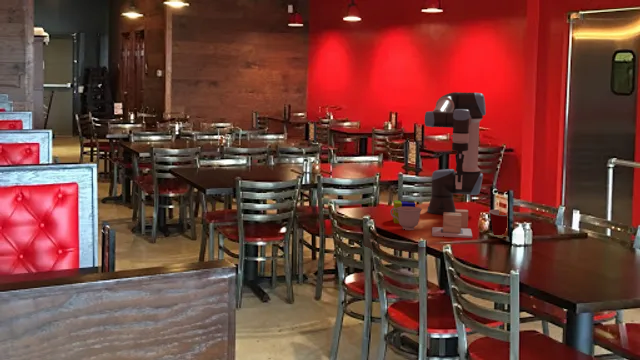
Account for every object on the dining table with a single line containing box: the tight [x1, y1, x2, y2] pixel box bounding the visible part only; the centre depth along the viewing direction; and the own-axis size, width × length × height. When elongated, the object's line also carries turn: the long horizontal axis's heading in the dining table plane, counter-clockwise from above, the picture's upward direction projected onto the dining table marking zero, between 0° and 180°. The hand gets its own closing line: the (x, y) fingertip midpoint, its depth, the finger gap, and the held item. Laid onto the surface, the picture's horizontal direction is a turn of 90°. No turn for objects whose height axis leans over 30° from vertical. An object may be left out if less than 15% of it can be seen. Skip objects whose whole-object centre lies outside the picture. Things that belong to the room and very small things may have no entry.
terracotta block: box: [455, 208, 469, 229], centre depth 395 cm, size 6×6×8 cm
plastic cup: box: [488, 209, 507, 235], centre depth 369 cm, size 11×11×12 cm
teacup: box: [390, 206, 423, 231], centre depth 385 cm, size 12×15×10 cm
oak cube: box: [442, 212, 461, 233], centre depth 376 cm, size 8×8×8 cm
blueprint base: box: [431, 226, 473, 239], centre depth 377 cm, size 18×18×1 cm
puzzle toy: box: [392, 200, 416, 224], centre depth 405 cm, size 10×10×10 cm
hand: (458, 187), depth 384 cm, fingers open, 13 cm apart
